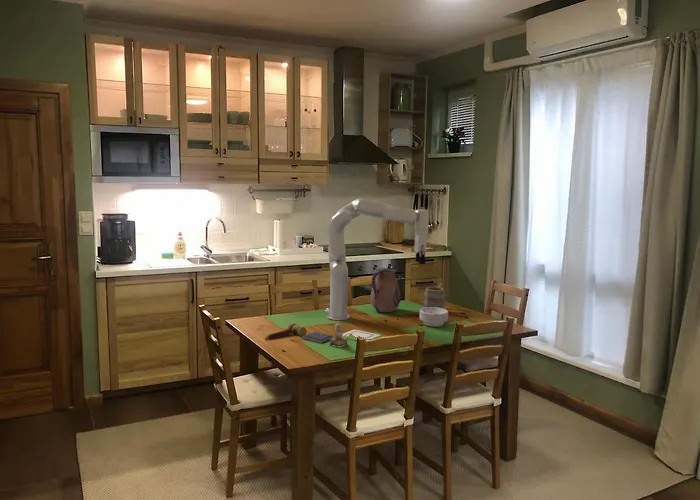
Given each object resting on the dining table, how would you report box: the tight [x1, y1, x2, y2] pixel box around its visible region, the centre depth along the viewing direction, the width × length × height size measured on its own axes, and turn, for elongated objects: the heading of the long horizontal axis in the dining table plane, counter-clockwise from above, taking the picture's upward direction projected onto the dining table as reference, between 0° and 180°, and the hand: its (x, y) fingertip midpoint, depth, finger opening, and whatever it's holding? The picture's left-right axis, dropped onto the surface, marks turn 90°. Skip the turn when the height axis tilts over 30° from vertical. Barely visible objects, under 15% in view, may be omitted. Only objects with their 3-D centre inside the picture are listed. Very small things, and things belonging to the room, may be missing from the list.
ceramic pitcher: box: [370, 267, 401, 313], centre depth 329 cm, size 18×21×25 cm
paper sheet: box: [342, 328, 381, 340], centre depth 280 cm, size 16×15×1 cm
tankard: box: [423, 283, 446, 309], centre depth 334 cm, size 20×13×15 cm, turn 150°
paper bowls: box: [418, 306, 449, 328], centre depth 303 cm, size 15×15×8 cm
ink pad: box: [301, 331, 335, 344], centre depth 275 cm, size 12×10×2 cm
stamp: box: [329, 323, 349, 347], centre depth 264 cm, size 6×6×10 cm
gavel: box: [264, 322, 307, 340], centre depth 278 cm, size 21×5×10 cm
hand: (420, 262), depth 314 cm, fingers open, 9 cm apart
